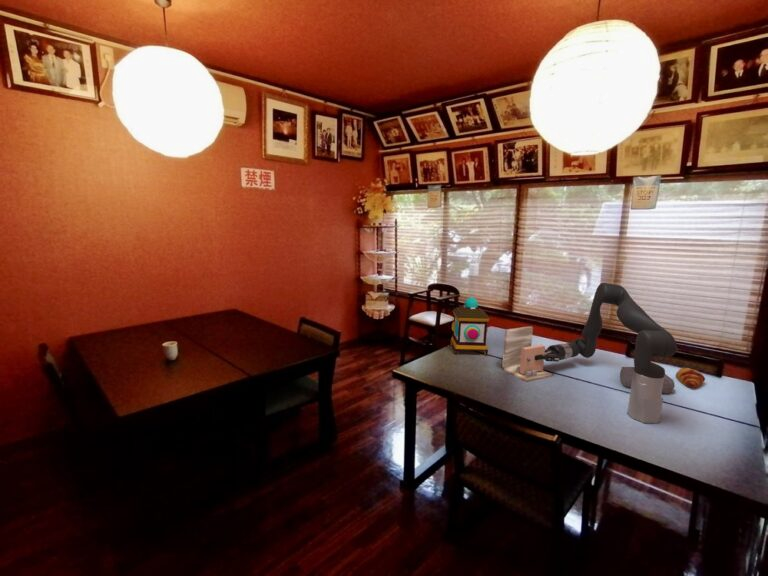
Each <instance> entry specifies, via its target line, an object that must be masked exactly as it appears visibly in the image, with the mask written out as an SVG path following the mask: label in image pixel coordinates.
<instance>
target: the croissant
mask: <svg viewBox="0 0 768 576" xmlns="http://www.w3.org/2000/svg"><path fill="white" fill-rule="evenodd" d="M675 373H676V374H675V378H677V380H678V382H680V383H681V384H683V385H684V386H686V387H688V388H696V389H697V388H699V387H700V386H702V385H703V383H704V382H705V381H706V378H705V375H704V374H703V373H701V372H699V371H698V370H697V369H692V368H689V367H681V368H680V369H678V370H677V371H676V372H675Z"/></svg>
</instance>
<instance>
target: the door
mask: <svg viewBox="0 0 768 576" xmlns="http://www.w3.org/2000/svg"><path fill="white" fill-rule="evenodd" d="M545 349H546V345H545V344H544V345H543V344H536V345H531V346H529V347H524V348H522V351H521V362H520V373H522V374H525V371H530V370H536V371H542V370H544V362H545V360H535V356H536V355H542V354H544V353H545Z"/></svg>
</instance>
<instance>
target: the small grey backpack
mask: <svg viewBox="0 0 768 576" xmlns="http://www.w3.org/2000/svg"><path fill="white" fill-rule="evenodd" d="M633 372H634V366H622V367H621V368H620V372H619V379H620V383H621V384H622V386H624V387H626V388H629V389H631V385H632V378H633ZM675 385H676V384H675V381H674V379H673V378H671V377H670V376H669V375H668V374H666V373H665V376H664V382H663V387H662V393H661V394H665V395H666V394H671V393H672V392H673V389H674V388H676V387H675Z"/></svg>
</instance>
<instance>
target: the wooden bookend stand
mask: <svg viewBox="0 0 768 576" xmlns="http://www.w3.org/2000/svg"><path fill="white" fill-rule="evenodd" d="M504 330H505V331H504V341H503V342H504V343H503V353H502V354H503V355H502V367H501V369H502V371H503V370H504V371H505V372H507V373H509V374H510V375H512V376H514V377H516V378H518V379H519V380H521V381H523V382H524V383H525V382H526V383H528V382H532V381H537V380H538V381H539V380H542V379H547V378H551V377H553V374H552V373H550V372H547V371H545V370H544V369H543V370H542V371H536V370H530V371H525V374H522V373H520V362H521V351H522V348H524V347H529V346H532V342H533V341H532V340H533V332H534V327H533V326H522V327H515V328H508V329H504Z"/></svg>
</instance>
